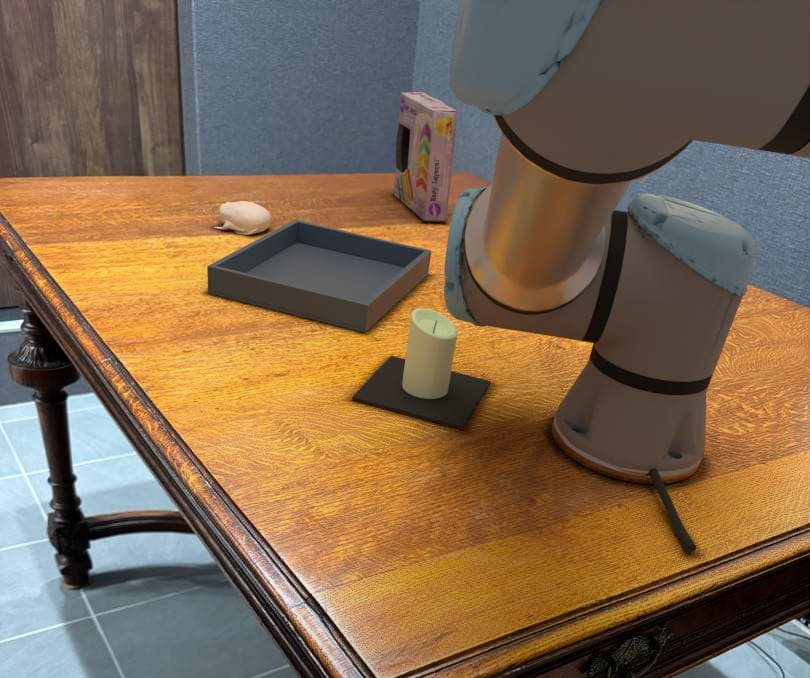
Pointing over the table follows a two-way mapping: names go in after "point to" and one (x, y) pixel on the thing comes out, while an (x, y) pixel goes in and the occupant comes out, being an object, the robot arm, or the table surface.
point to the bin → (321, 274)
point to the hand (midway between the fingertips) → (540, 181)
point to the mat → (445, 410)
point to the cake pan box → (425, 155)
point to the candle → (429, 354)
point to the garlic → (244, 217)
